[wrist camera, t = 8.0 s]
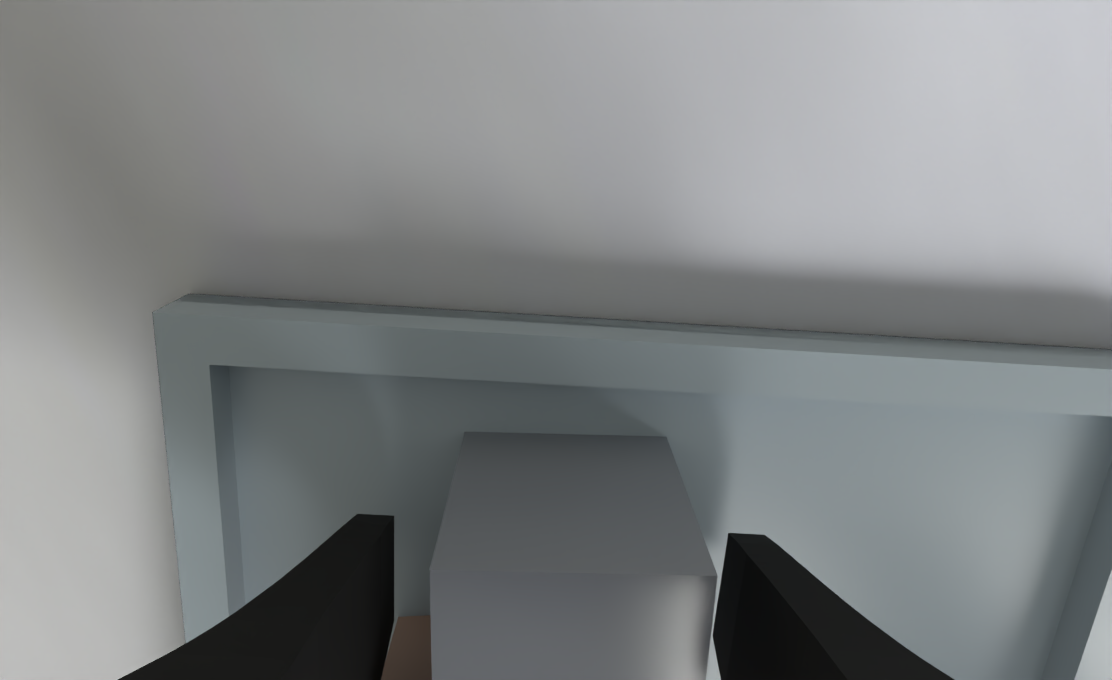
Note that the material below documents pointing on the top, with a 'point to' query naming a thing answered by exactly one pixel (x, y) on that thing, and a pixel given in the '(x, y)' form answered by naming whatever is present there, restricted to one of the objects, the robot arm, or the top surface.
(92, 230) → the top surface
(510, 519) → the plain grey cube
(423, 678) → the cardboard tan cube
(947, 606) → the parts tray
